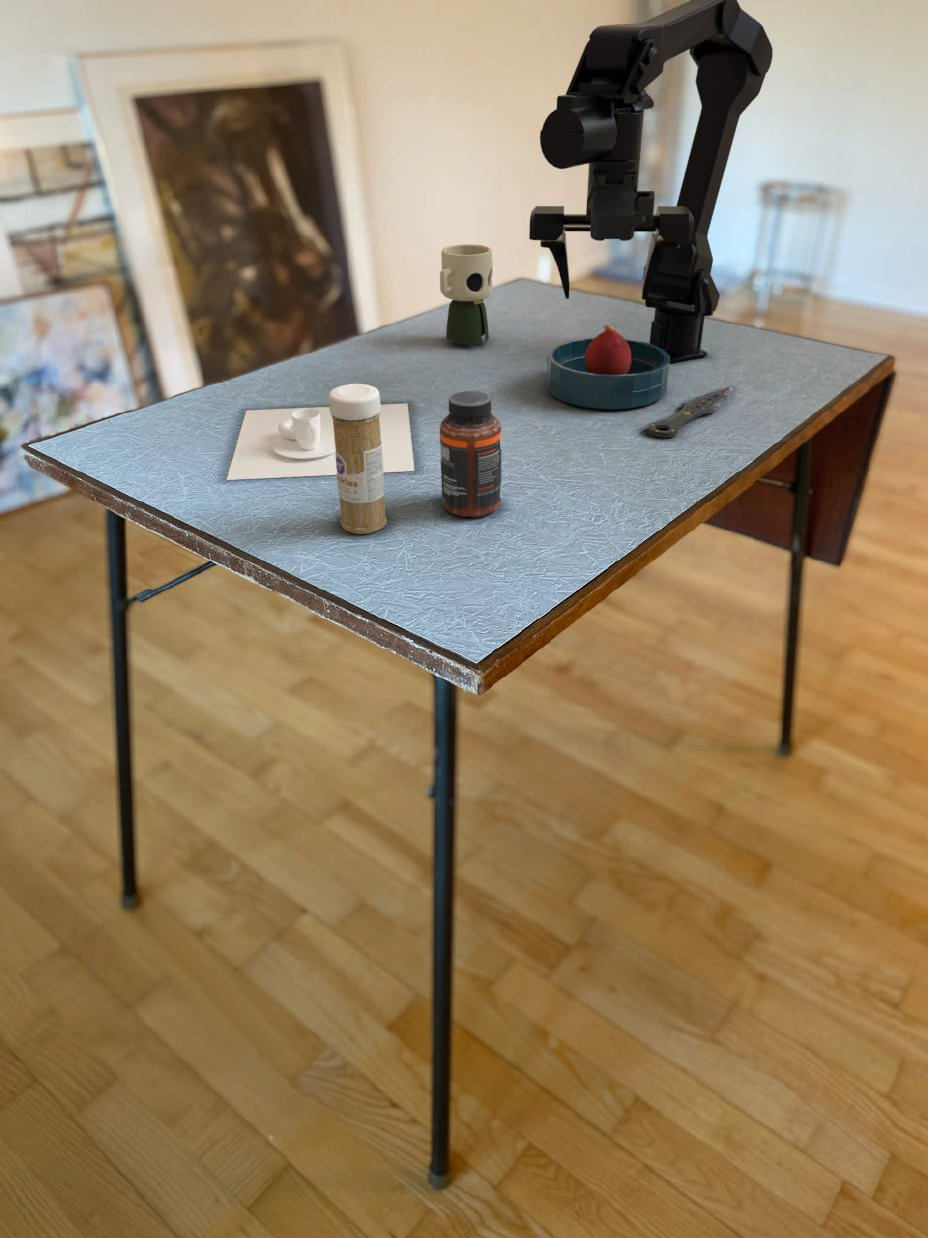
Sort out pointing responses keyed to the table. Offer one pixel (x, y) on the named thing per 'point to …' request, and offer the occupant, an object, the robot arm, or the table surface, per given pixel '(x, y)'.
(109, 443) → the table surface
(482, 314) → the character mug
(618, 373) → the onion
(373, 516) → the sprinkles bottle
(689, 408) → the throwing knife
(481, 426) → the supplement bottle
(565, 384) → the bowl
